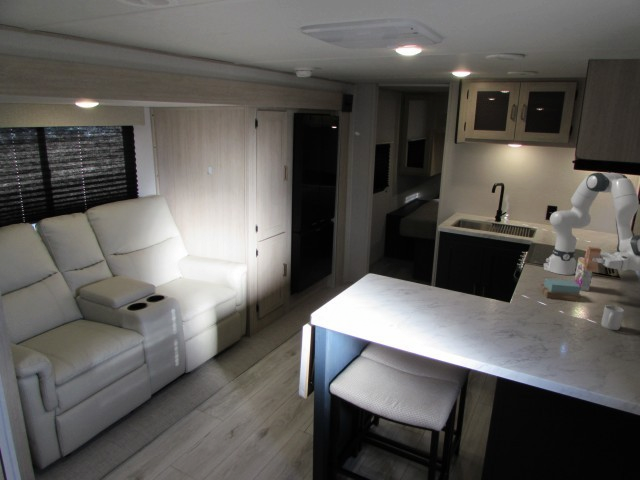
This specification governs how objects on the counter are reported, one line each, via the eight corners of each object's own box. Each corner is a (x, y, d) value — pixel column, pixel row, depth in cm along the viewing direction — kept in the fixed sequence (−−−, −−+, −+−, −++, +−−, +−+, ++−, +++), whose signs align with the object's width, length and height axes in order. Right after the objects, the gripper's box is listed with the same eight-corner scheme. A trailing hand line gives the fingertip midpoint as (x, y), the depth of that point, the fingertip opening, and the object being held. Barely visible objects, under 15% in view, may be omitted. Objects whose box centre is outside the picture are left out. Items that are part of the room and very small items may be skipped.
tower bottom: (540, 291, 251) (541, 284, 250) (571, 294, 248) (573, 287, 247) (546, 299, 239) (547, 292, 238) (579, 303, 236) (581, 295, 235)
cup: (620, 326, 206) (624, 308, 204) (617, 333, 199) (621, 314, 197) (602, 322, 211) (606, 304, 209) (598, 328, 203) (602, 309, 201)
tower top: (544, 285, 248) (545, 278, 247) (571, 287, 247) (572, 280, 246) (551, 291, 238) (552, 284, 237) (579, 294, 237) (580, 286, 236)
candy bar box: (572, 284, 264) (578, 256, 260) (582, 285, 263) (587, 257, 259) (579, 290, 253) (585, 262, 249) (589, 291, 252) (595, 263, 248)
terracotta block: (582, 268, 242) (587, 246, 239) (593, 269, 241) (597, 247, 238) (586, 270, 237) (590, 248, 234) (596, 271, 236) (601, 249, 233)
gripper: (612, 249, 244) (584, 247, 247) (629, 260, 225) (598, 257, 227) (610, 260, 246) (582, 258, 248) (626, 272, 226) (595, 269, 229)
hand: (590, 257), depth 238 cm, fingers closed on terracotta block, 5 cm apart
